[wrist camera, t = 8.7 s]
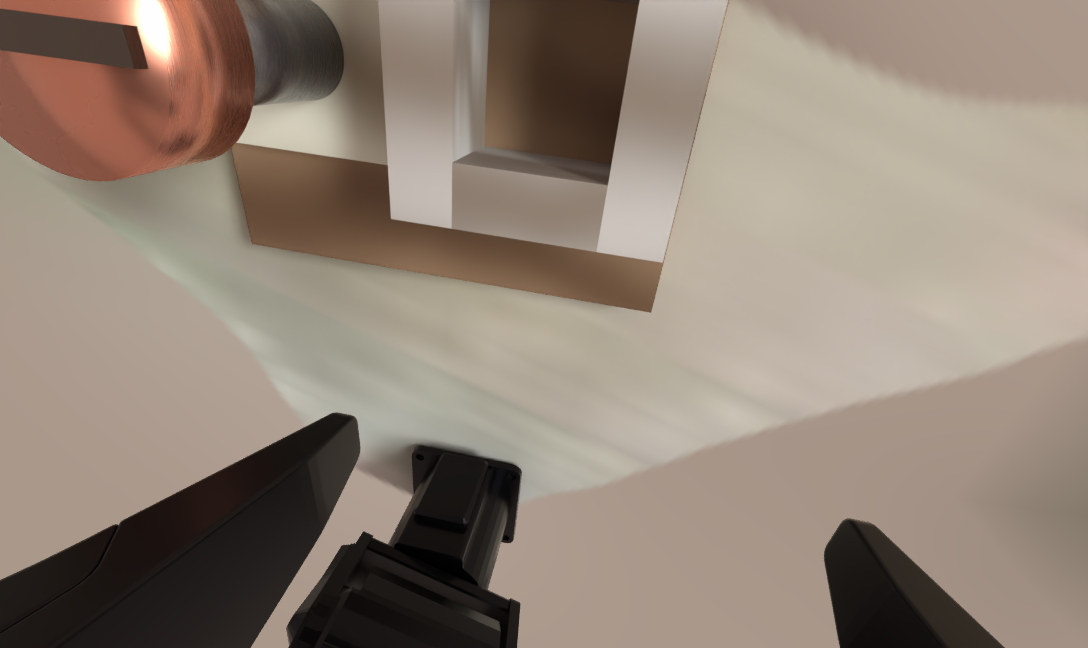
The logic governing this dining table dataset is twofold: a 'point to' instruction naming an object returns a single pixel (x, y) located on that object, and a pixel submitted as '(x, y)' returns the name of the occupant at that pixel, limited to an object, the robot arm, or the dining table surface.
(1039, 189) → the dining table surface
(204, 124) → the copper knob
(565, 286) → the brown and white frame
